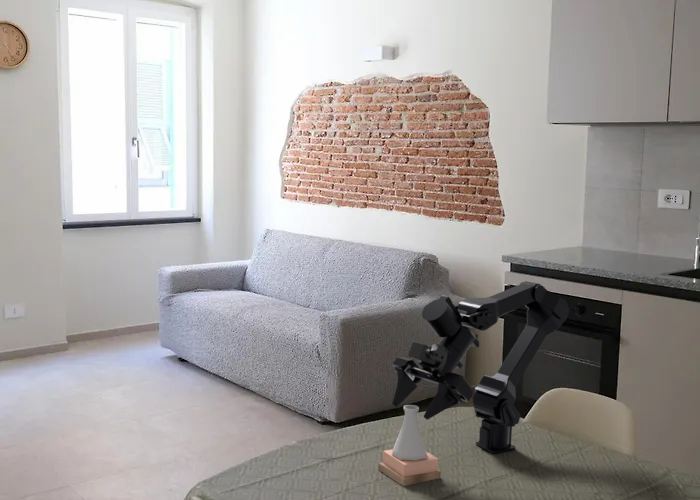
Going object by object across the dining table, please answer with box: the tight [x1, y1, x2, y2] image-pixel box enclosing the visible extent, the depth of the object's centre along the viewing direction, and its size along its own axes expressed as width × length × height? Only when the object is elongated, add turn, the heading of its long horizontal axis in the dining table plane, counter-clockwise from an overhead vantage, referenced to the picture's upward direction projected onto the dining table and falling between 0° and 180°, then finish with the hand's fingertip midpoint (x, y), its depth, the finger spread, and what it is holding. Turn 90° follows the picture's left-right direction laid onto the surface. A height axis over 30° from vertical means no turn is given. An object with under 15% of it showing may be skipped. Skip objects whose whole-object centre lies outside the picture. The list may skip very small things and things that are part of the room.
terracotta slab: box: [382, 448, 439, 477], centre depth 163 cm, size 8×8×2 cm
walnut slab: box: [378, 461, 442, 487], centre depth 163 cm, size 9×9×2 cm
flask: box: [392, 404, 427, 461], centre depth 162 cm, size 7×7×10 cm
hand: (409, 412), depth 161 cm, fingers open, 9 cm apart
